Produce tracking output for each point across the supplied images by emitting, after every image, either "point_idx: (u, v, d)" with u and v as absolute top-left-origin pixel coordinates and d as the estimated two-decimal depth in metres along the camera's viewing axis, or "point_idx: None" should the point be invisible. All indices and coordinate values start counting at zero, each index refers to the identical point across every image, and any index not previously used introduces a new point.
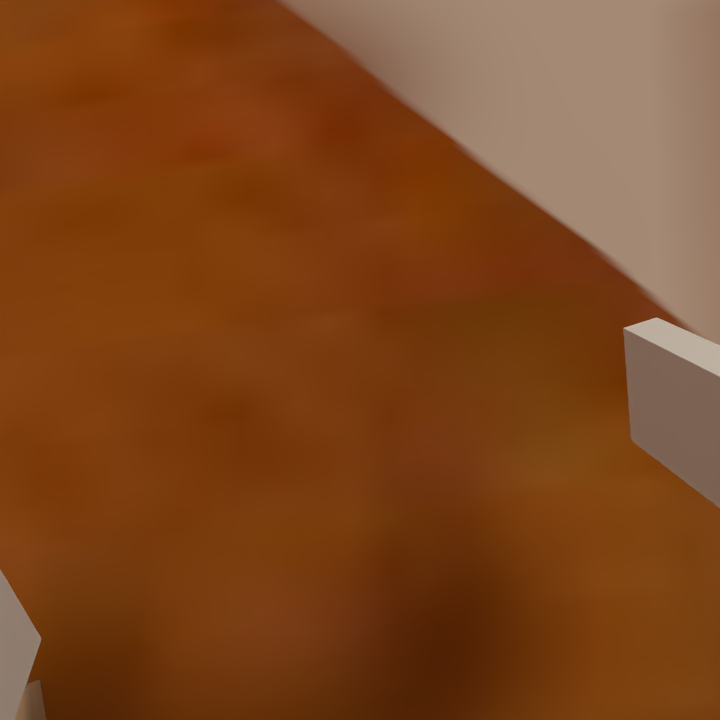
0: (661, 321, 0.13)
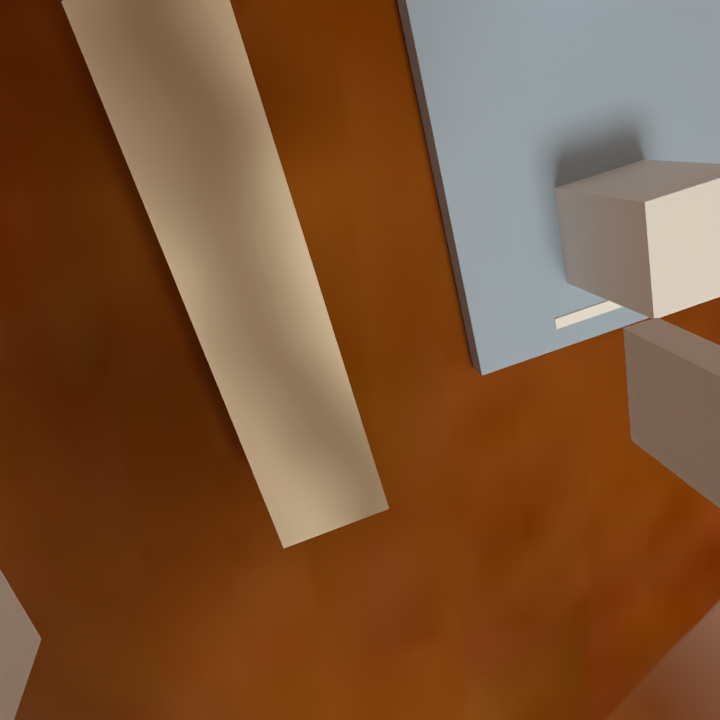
0: (661, 320, 0.13)
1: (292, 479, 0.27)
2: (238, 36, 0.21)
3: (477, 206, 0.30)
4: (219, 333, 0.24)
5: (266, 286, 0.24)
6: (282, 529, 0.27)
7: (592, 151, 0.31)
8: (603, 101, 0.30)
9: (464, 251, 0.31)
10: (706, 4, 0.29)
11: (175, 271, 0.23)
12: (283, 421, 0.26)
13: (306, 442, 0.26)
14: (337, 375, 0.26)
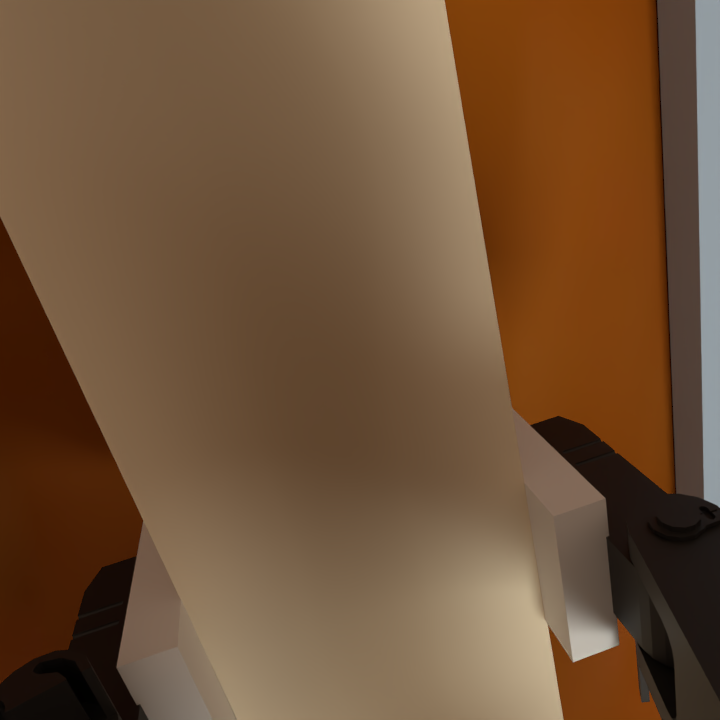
0: None
1: None
2: None
3: None
4: (283, 682, 0.09)
5: (410, 573, 0.09)
6: None
7: None
8: None
9: (714, 386, 0.16)
10: None
11: (173, 556, 0.08)
12: None
13: None
14: None
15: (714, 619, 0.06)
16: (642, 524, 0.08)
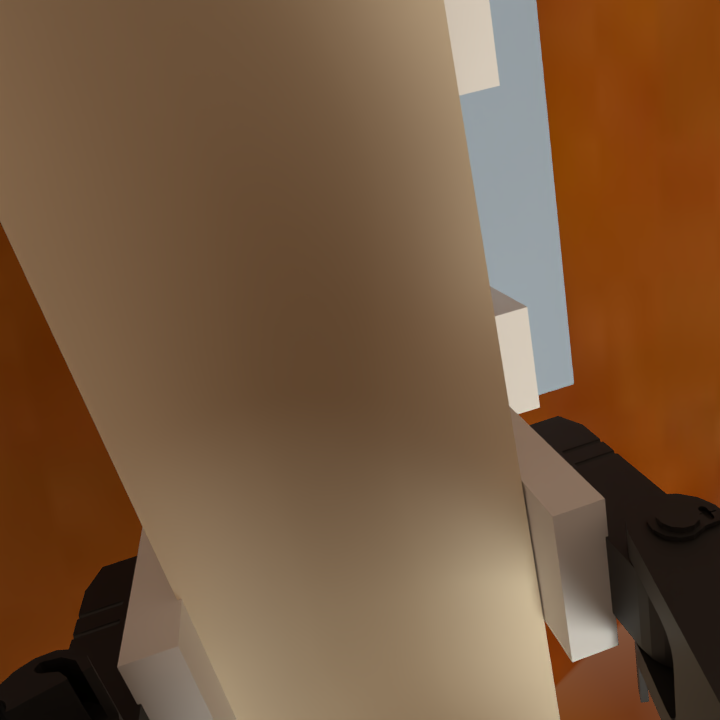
0: None
1: None
2: None
3: None
4: (279, 683, 0.09)
5: (406, 574, 0.09)
6: None
7: None
8: None
9: None
10: (518, 137, 0.32)
11: (169, 555, 0.08)
12: None
13: None
14: None
15: (713, 619, 0.06)
16: (641, 524, 0.08)
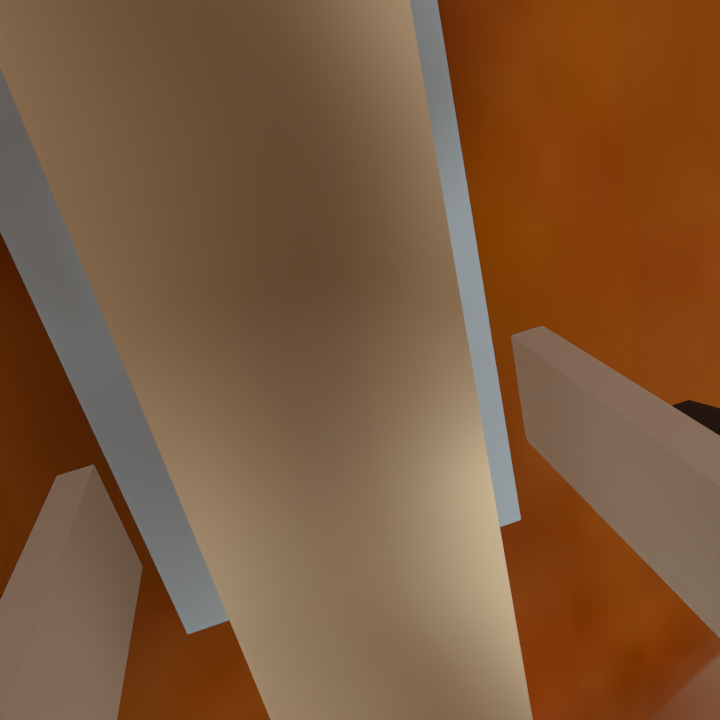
0: (545, 328, 0.14)
1: None
2: None
3: (149, 460, 0.24)
4: (275, 601, 0.11)
5: (385, 507, 0.11)
6: None
7: None
8: None
9: (139, 508, 0.25)
10: None
11: (183, 484, 0.10)
12: None
13: None
14: (505, 661, 0.12)
15: None
16: None
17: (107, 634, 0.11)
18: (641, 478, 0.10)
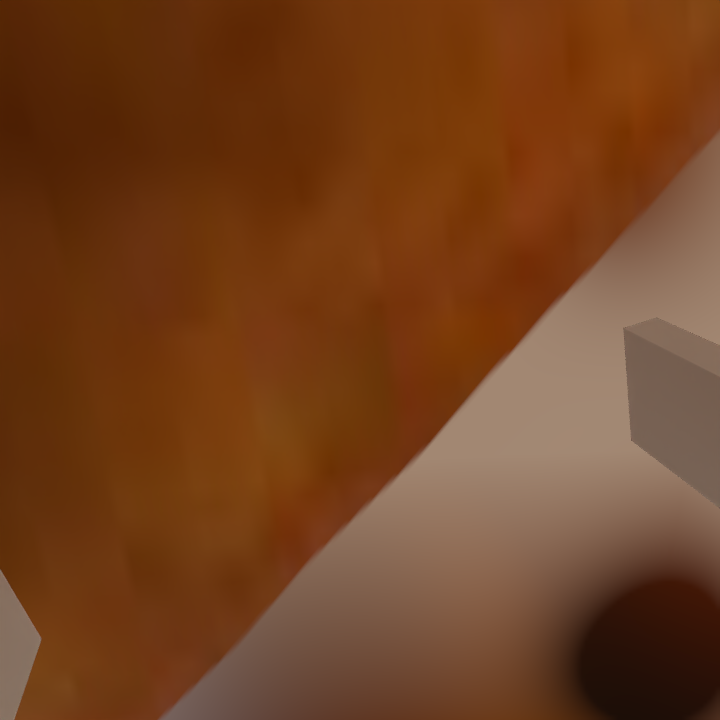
0: (661, 320, 0.13)
1: None
2: None
3: None
4: None
5: None
6: None
7: None
8: None
9: None
10: None
11: None
12: None
13: None
14: None
15: None
16: None
17: None
18: None
